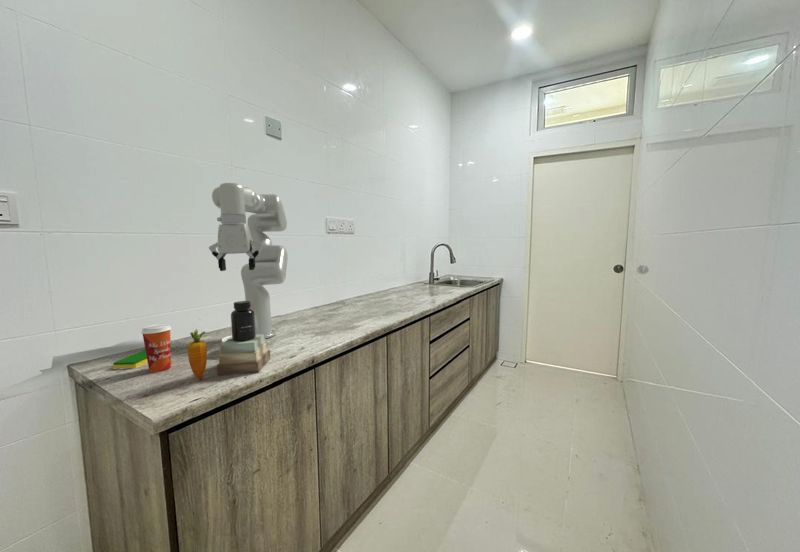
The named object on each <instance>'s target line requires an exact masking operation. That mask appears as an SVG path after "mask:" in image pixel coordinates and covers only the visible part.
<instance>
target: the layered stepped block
mask: <svg viewBox="0 0 800 552" xmlns="http://www.w3.org/2000/svg"><path fill="white" fill-rule="evenodd" d="M268 346H269V344H268V342H267V341H266V339H265V334H256V336H255V338H254V339H252V340H248V341H234V340H233V339H232V337H231V338H229V339H228V340H226V341H225V342H223V343H222V342H221V344H219V347H220V348H219V349H220V353H219V354H218V364H217V365H216V369H217V371H216V372H217V375H218V376H219V375H221V376H222V375H234V374H235V375H236V374H237V373H239V374H255V373H254V372H256V373H260V372H261V370H262V369H264V367H265V366H266V364H268V362H269V361H270V360H271V350H269V347H268ZM237 375H238V374H237Z"/></svg>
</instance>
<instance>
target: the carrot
mask: <svg viewBox="0 0 800 552" xmlns="http://www.w3.org/2000/svg"><path fill="white" fill-rule="evenodd" d="M198 333H199V330H198V329H195V330H194V332H193V331H192V332H190V336H191V338H192V339H193V341H191V342H190V343H188V344H187V347H186V348H187V356H188V362H189V365H190V368H191V372H192V373H193V375H194V376H195V378H196V379H197V380H200V381H201V380H202V378H204V375H205V372H206V368H207V362H208V348H207V345H208V344H207V342H206V341H205V340H201V338H202V336H204V334H206V331H202V332H201V333H200V334H198Z"/></svg>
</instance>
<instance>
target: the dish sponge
mask: <svg viewBox="0 0 800 552" xmlns="http://www.w3.org/2000/svg"><path fill="white" fill-rule="evenodd" d="M112 364H113V365H112V366H113V369H114V368H134V369H137V368H139V367H141V366H143V365H146V364H148V361H147V356H146V351H145V349H143V350H140V351H138V352H136V353H134V354H131V355H129V356H126V357H124V358H121V359H118V360H117V361H115V362H112Z"/></svg>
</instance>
